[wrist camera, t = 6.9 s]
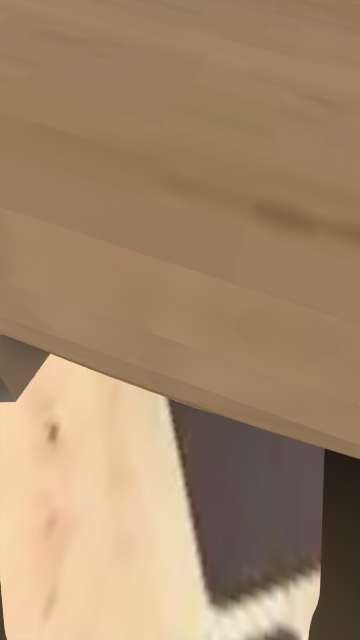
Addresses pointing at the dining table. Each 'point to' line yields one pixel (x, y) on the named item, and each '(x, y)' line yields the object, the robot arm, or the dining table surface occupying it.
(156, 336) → the wooden block
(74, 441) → the dining table surface
